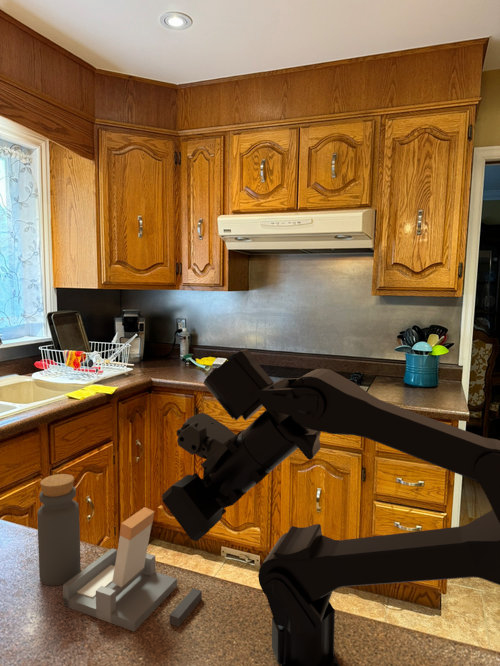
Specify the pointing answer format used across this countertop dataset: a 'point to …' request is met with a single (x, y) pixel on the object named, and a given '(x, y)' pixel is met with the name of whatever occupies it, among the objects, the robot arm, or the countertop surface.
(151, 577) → the grey twin-post base
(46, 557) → the bottle
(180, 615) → the long grey bar
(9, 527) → the countertop surface
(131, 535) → the lever
